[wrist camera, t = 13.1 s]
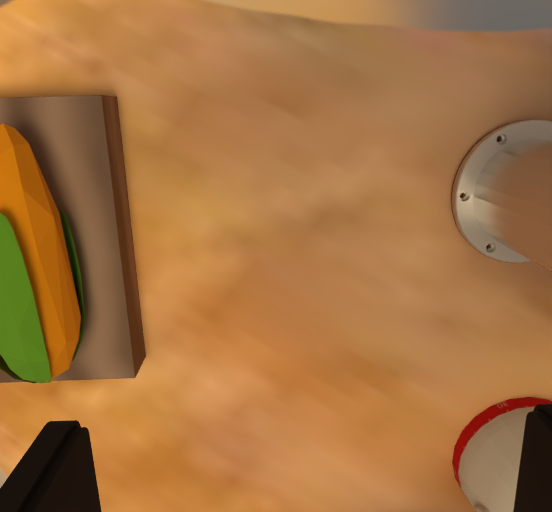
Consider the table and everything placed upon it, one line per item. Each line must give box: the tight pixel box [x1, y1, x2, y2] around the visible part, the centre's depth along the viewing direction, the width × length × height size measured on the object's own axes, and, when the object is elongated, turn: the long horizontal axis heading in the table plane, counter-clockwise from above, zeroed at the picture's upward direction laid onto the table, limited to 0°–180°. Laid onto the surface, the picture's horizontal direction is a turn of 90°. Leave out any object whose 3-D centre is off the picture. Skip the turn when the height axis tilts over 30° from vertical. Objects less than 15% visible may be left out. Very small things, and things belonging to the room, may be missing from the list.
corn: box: [0, 124, 85, 383], centre depth 36 cm, size 7×8×20 cm
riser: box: [0, 95, 146, 383], centre depth 42 cm, size 12×24×4 cm, turn 1°
